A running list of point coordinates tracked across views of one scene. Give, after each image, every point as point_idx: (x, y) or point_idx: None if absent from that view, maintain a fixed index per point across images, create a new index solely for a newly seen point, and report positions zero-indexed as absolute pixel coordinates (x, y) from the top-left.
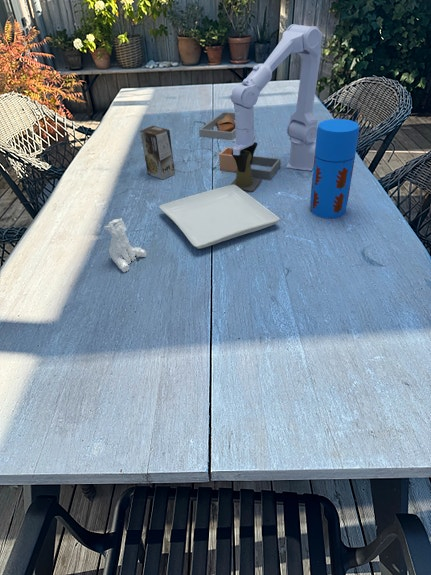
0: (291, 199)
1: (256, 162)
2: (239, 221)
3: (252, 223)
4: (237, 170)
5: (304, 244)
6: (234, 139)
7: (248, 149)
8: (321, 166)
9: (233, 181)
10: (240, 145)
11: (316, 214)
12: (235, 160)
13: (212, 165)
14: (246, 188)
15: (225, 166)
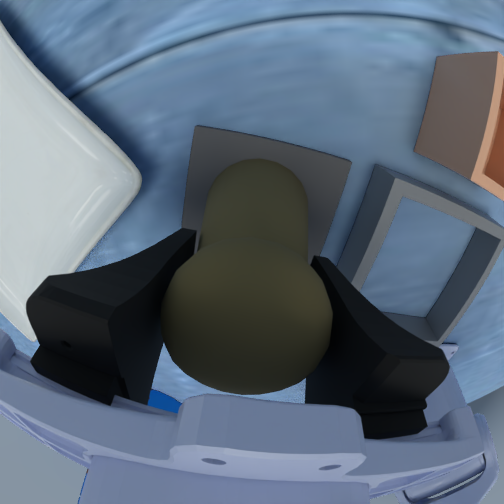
0: (170, 363)
1: (476, 245)
2: (5, 244)
3: (15, 276)
4: (219, 209)
5: (33, 353)
6: (293, 470)
7: (326, 384)
8: (83, 484)
9: (276, 142)
10: (64, 446)
11: None
12: (115, 265)
13: (475, 31)
14: (194, 229)
15: (445, 87)
